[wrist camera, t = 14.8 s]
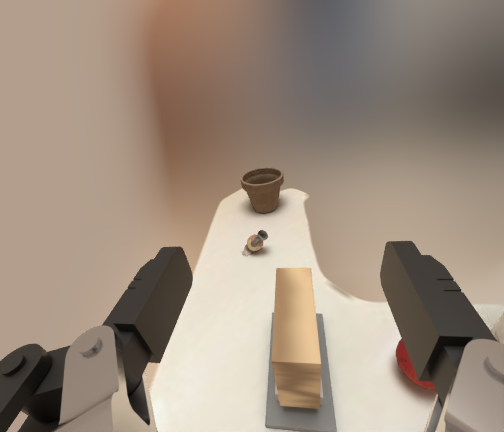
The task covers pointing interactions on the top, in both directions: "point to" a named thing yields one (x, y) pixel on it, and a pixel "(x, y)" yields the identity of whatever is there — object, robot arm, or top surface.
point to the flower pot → (263, 188)
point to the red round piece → (409, 366)
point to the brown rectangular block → (296, 340)
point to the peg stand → (296, 418)
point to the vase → (255, 242)
